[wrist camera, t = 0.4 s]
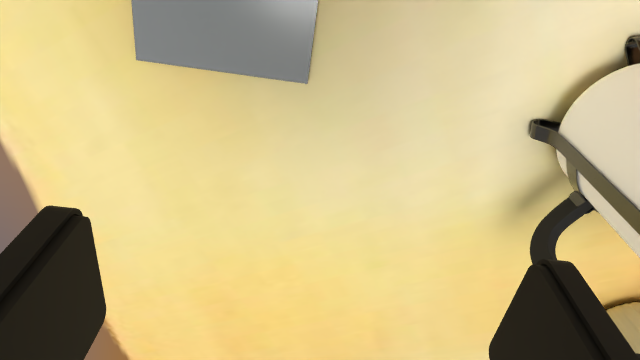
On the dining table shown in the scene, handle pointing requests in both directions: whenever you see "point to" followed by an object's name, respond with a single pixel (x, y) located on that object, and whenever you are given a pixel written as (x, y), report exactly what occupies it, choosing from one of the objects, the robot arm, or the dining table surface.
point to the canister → (628, 322)
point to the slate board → (228, 35)
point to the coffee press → (597, 157)
